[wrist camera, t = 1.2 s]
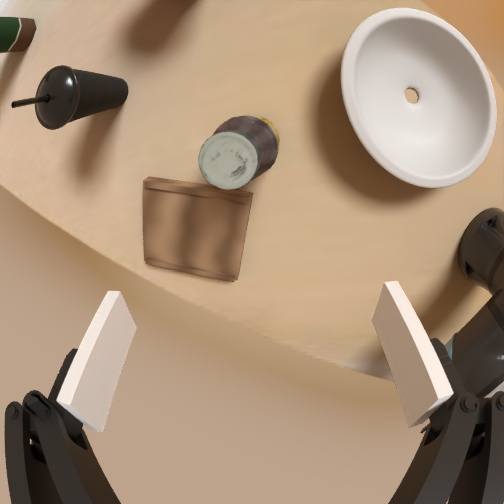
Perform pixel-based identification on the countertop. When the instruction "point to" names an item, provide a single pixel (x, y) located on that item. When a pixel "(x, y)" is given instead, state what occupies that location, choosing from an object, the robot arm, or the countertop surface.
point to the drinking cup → (74, 96)
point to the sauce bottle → (239, 152)
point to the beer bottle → (15, 33)
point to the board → (194, 227)
